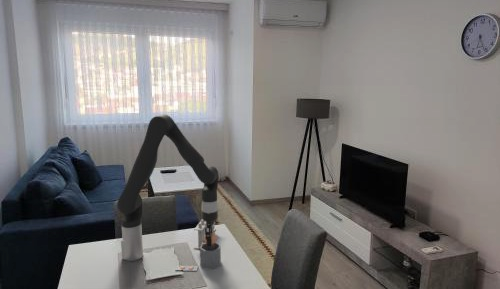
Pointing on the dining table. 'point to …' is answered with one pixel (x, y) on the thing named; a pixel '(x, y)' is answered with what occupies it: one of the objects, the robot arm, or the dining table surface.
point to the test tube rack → (201, 233)
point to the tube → (210, 256)
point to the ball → (212, 239)
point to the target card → (189, 268)
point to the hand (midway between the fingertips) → (210, 242)
